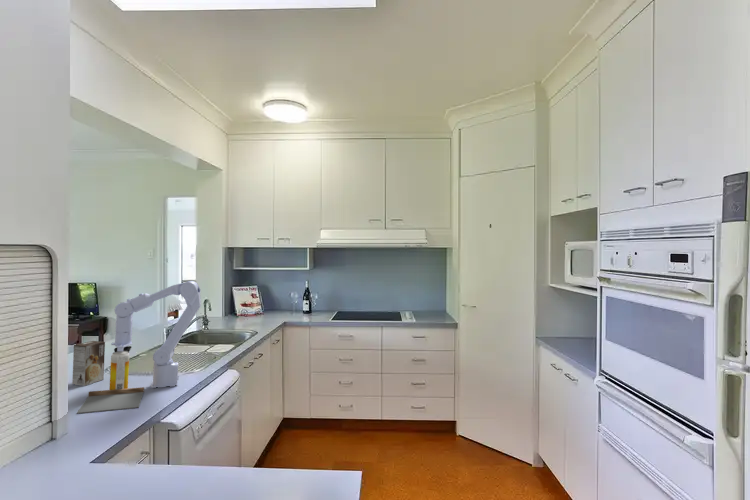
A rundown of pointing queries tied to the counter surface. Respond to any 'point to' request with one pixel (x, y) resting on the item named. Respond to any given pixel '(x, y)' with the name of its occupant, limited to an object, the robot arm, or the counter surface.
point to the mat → (111, 402)
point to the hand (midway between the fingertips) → (122, 365)
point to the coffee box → (88, 363)
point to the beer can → (119, 370)
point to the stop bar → (115, 391)
